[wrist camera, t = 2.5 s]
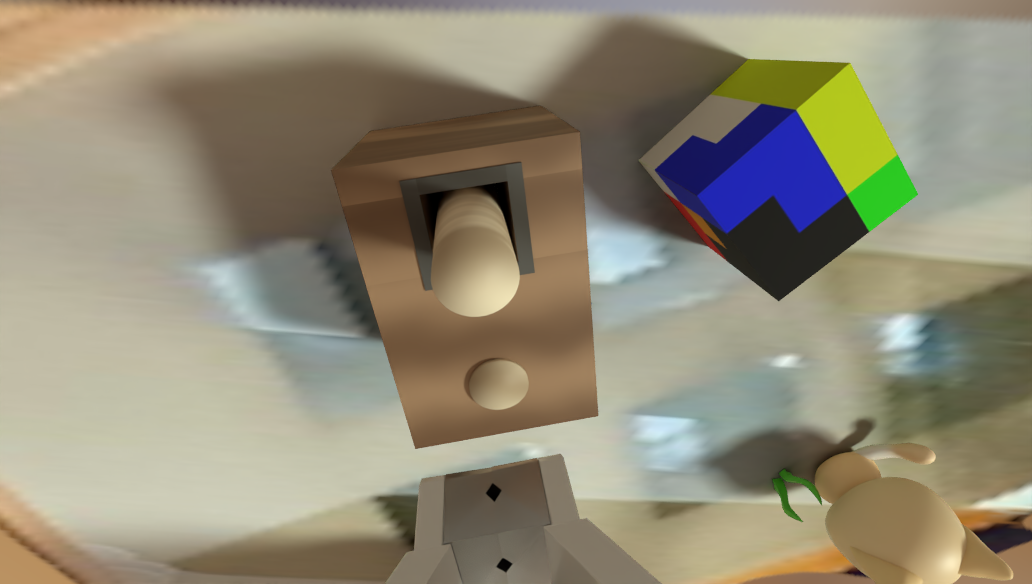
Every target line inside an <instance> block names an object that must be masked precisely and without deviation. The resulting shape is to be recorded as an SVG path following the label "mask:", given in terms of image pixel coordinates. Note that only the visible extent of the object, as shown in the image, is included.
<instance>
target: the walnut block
mask: <svg viewBox="0 0 1032 584" xmlns="http://www.w3.org/2000/svg"><path fill="white" fill-rule="evenodd" d="M331 172H332V175H333V178H334V181H335V185H336V188H337V191H338V195H339V198H340V201H341V205H342V208H343V211H344V214H345V218H346V221H347V224H348V228H349V231H350V234H351V238H352V241H353V244H354V247H355V251H356V254H357V257H358V261H359V264H360V267H361V271H362V274H363V277H364V280H365V284H366V287H367V290H368V294H369V297H370V300H371V304H372V307H373V310H374V313H375V317H376V320H377V323H378V327H379V330H380V333H381V337H382V340H383V343H384V347H385V350H386V353H387V356H388V360H389V363H390V366H391V370H392V373H393V376H394V380H395V383H396V386H397V389H398V393H399V396H400V399H401V403H402V406H403V409H404V413H405V416H406V419H407V422H408V426H409V429H410V432H411V436H412V439H413V442H414V446H415V449H418V448H423V447H429V446H434V445H440V444H445V443H451V442H456V441H462V440H468V439H473V438H479V437H484V436H490V435H495V434H501V433H506V432H512V431H518V430H523V429H529V428H534V427H540V426H545V425H551V424H556V423H562V422H568V421H573V420H579V419H584V418H590V417H595V416H598V404H597V388H596V373H595V357H594V342H593V326H592V311H591V296H590V280H589V265H588V249H587V234H586V218H585V203H584V188H583V172H582V157H581V141H580V131H578V130H577V129H575V128H574V127H572V126H571V125H569V124H568V123H566V122H565V121H563V120H561V119H560V118H558V117H557V116H555V115H554V114H552V113H551V112H549V111H548V110H546V109H545V108H543V107H542V106H534V107H527V108H521V109H514V110H508V111H501V112H494V113H488V114H481V115H474V116H468V117H461V118H455V119H448V120H441V121H435V122H428V123H421V124H415V125H408V126H401V127H395V128H388V129H382V130H375V131H370V132H369V133H368V134H367V135H366V136H365V137H364V138H363V139H362V140H361V141H360V142H359V143H358V144H357V145H356V146H355V147H354V148H353V149H352V150H351V151H350V152H349V153H348V154H347V155H346V156H345V157H344V158H343V159H342V160H341V161H340V162H339V163H338V164H337V165H336V166H335V167H334V168H333V169H332V170H331ZM492 183H497V185H498V191H499V198H500V199H499V202H500V206H501V209H502V213H503V216H504V219H505V223H506V226H507V229H508V233H509V236H510V239H511V243H512V246H513V250H514V253H515V256H516V260H517V263H518V267H519V272H520V279H519V285H518V288H517V291H516V293H515V295H514V297H513V298H512V299H511V301H510V302H509V303H508V304H507V305H506V306H504V307H503V308H502V309H500V310H499V311H497V312H495V313H492V314H489V315H486V316H480V317H469V316H463V315H460V314H457V313H455V312H453V311H451V310H449V309H448V308H446V307H445V306H444V305H443V304H442V303H441V302H440V301H439V300H438V298H437V297H436V295H435V293H434V291H433V288H432V284H431V268H432V258H433V248H434V238H435V228H436V218H437V208H438V198H439V192H441V191H448V190H454V189H460V188H467V187H473V186H479V185H486V184H492Z"/></svg>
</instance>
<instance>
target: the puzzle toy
mask: <svg viewBox="0 0 1032 584" xmlns="http://www.w3.org/2000/svg"><path fill="white" fill-rule="evenodd" d="M638 161H639V162H640V163H641V164H642V165H643V167H644V168H645V169H646V170H647V172H648V173H649V174H650V175H651V177H652V178H653V179H654V180H655V181H656V183H657V184H658V185H659V186H660V188H661V189H662V190H663V191H664V193H665V194H666V195H667V196H668V197H669V199H670V200H671V201H672V202H673V204H674V205H675V206H676V207H677V209H678V210H679V211H680V212H681V213H682V215H683V216H684V217H685V218H686V220H687V221H688V222H689V223H690V225H691V226H692V227H693V228H694V229H695V231H696V232H697V233H698V234H699V236H700V237H701V238H702V239H703V241H704V242H705V243H706V244H707V245H708V247H710V248H711V249H712V250H714V251H715V252H716V253H717V254H719V255H720V256H721V257H723V258H724V259H725V260H726V261H728V262H729V263H730V264H732V265H733V266H734V267H735V268H737V269H738V270H739V271H741V272H742V273H743V274H744V275H746V276H747V277H748V278H750V279H751V280H752V281H753V282H755V283H756V284H757V285H759V286H760V287H761V288H762V289H764V290H765V291H766V292H768V293H769V294H770V295H771V296H773V297H774V298H775V299H776V300H778V301H780V300H781V299H782V298H784V297H785V296H786V295H787V294H789V293H790V292H791V291H793V290H794V289H795V288H797V287H798V286H799V285H801V284H802V283H803V282H804V281H806V280H807V279H808V278H810V277H811V276H812V275H814V274H815V273H816V272H818V271H819V270H820V269H821V268H823V267H824V266H825V265H827V264H828V263H829V262H831V261H832V260H833V259H835V258H836V257H837V256H838V255H840V254H841V253H842V252H844V251H845V250H846V249H848V248H849V247H850V246H851V245H853V244H854V243H855V242H857V241H858V240H859V239H861V238H862V237H863V236H865V235H866V234H867V233H868V232H870V231H871V230H872V229H874V228H875V227H876V226H878V225H879V224H880V223H882V222H883V221H884V220H885V219H887V218H888V217H889V216H891V215H892V214H893V213H895V212H896V211H897V210H899V209H900V208H901V207H902V206H904V205H905V204H906V203H908V202H909V201H910V200H912V199H913V198H914V197H916V196H917V195H918V193H917V191H916V189H915V187H914V185H913V183H912V182H911V180H910V178H909V176H908V174H907V172H906V170H905V168H904V166H903V164H902V162H901V160H900V158H899V156H898V154H897V153H896V151H895V149H894V147H893V145H892V143H891V141H890V139H889V137H888V135H887V133H886V131H885V129H884V127H883V125H882V123H881V122H880V120H879V118H878V116H877V114H876V112H875V110H874V108H873V106H872V104H871V102H870V100H869V98H868V96H867V94H866V93H865V91H864V89H863V87H862V85H861V83H860V81H859V79H858V77H857V75H856V73H855V71H854V69H853V67H852V65H851V63H839V62H812V61H785V60H758V59H748V60H747V61H746V62H745V63H744V64H743V65H742V66H741V67H739V68H738V69H737V70H736V71H735V72H734V73H733V74H732V75H731V76H730V77H729V78H727V79H726V80H725V81H724V82H723V83H722V84H721V85H720V86H719V87H718V88H717V89H716V90H714V91H713V92H712V93H711V94H710V95H709V96H708V97H707V98H706V99H705V100H704V101H702V102H701V103H700V104H699V105H698V106H697V107H696V108H695V109H694V110H693V111H692V112H690V113H689V114H688V115H687V116H686V117H685V118H684V119H683V120H682V121H681V122H680V123H679V124H677V125H676V126H675V127H674V128H673V129H672V130H671V131H670V132H669V133H668V134H667V135H665V136H664V137H663V138H662V139H661V140H660V141H659V142H658V143H657V144H656V145H655V146H653V147H652V148H651V149H650V150H649V151H648V152H647V153H646V154H645V155H644V156H643V157H642V158H640V159H639V160H638Z"/></svg>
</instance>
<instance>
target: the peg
mask: <svg viewBox="0 0 1032 584" xmlns="http://www.w3.org/2000/svg"><path fill="white" fill-rule="evenodd" d="M519 279H520V272H519V267H518V263H517V260H516V256H515V253H514V250H513V246H512V243H511V239H510V236H509V233H508V229H507V226H506V223H505V219H504V216H503V213H502V209H501V206H500V202H499V199H498V196H497V192H496V189H495V187H494V185H493V183H492V184H486V185H479V186H473V187H467V188H460V189H454V190H448V191H441V192H439V198H438V208H437V218H436V228H435V238H434V248H433V258H432V268H431V284H432V288H433V291H434V293H435V295H436V297H437V298H438V300H439V301H440V302H441V303H442V304H443V305H444V306H445V307H446V308H448V309H449V310H451V311H453V312H455V313H457V314H460V315H463V316H469V317H480V316H486V315H489V314H492V313H495V312H497V311H499V310H500V309H502V308H503V307H504V306H506V305H507V304H508V303H509V302H510V301H511V299H512V298H513V297H514V295H515V293H516V291H517V288H518V285H519Z"/></svg>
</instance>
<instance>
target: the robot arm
mask: <svg viewBox="0 0 1032 584" xmlns="http://www.w3.org/2000/svg"><path fill="white" fill-rule="evenodd" d="M385 584H662V583H660V582H659V581H658V580H657V579H656V578H655V577H654V576H652V575H651V574H650V573H649V572H648V571H647V570H646V569H644V568H643V567H642V566H641V565H640V564H639V563H638V562H636V561H635V560H634V559H633V558H632V557H631V556H630V555H628V554H627V553H626V552H625V551H624V550H623V549H622V548H620V547H619V546H618V545H617V544H616V543H615V542H614V541H612V540H611V539H610V538H609V537H608V536H607V535H606V534H604V533H603V532H602V531H601V530H600V529H599V528H598V527H596V526H595V525H594V524H593V523H592V522H591V521H590V520H588V519H587V518H586V519H580V518H579V514H578V511H577V507H576V503H575V499H574V496H573V492H572V488H571V484H570V481H569V477H568V473H567V469H566V466H565V462H564V458H563V456H562V455H561V454H557V455H552V456H546V457H541V458H538V459H537V458H535V459H530V460H525V461H520V462H514V463H509V464H504V465H499V466H494V467H491V468H485V469H478V470H472V471H466V472H459V473H453V474H446V475H443V476H436V477H430V478H423V479H422V480H421V482H420V485H419V495H418V507H417V520H416V532H415V544H414V551H409V552H406V554H405V555H404V557H403V558H402V559H401V561H400V562H399V564H398V565H397V567H396V568H395V569H394V571H393V572H392V574H391V575H390V577H389V578H388V579H387V581H386V582H385Z"/></svg>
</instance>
